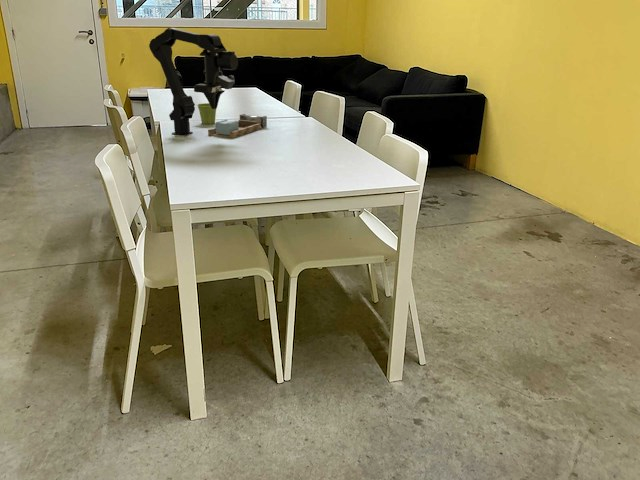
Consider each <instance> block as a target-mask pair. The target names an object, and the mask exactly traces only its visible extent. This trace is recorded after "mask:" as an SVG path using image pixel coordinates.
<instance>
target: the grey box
mask: <svg viewBox="0 0 640 480" xmlns="http://www.w3.org/2000/svg"><path fill="white" fill-rule="evenodd" d="M237 121H238V120H228V119H222V120H220V121H215V123H214V124H215V128H216V134H224V135H230V132H232V131H236V130H239V125H238V122H237Z"/></svg>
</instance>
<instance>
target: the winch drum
mask: <svg viewBox="0 0 640 480" xmlns="http://www.w3.org/2000/svg"><path fill="white" fill-rule="evenodd" d="M267 118H268V117H267V115H263V116H259V115H257V116H256V115H247V114H245V113H241V114H239V120H247V121H256V122H258V124H261V129H265V128H267V127H268V126H267V124H268V123H267V121H268V119H267Z"/></svg>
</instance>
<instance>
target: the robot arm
mask: <svg viewBox="0 0 640 480" xmlns="http://www.w3.org/2000/svg"><path fill="white" fill-rule="evenodd" d="M176 41H181V42H184V43H185V42H186V43H189V44H194V45H196V46H198V47H199V48H201V49H203V50H202V51H201V52H200V53H199V56H200V57H204V70H203V72H202V74H204V76H205V81H203V83H198V84H195V85H194V86H193V92H194V93H201V94H203V95H204V96H205V98H206V99H207V102H208V103H209V104H210V106H211V108H212V109H216V108H217V109H218V106H217V105H219V101H220V98H221V95H222V94H223V93H224V92H225V91H226V90H231V89H233V85H235V84H236V82H235V80H236V79H235V76H234V75H231V74H230V75H228V76H225V75H224V72H223V71H222V70H226V71H227V70H230V71H235V70H236V69H238V67H239V60H238V56H237V55H236V54H235V53H236V52H235V50H234V51H231V50H229V51H228V50H227V49H226V47H225V45H224V43H223V42H222V40H221V38H220V36H219V35H218V34H214V33H213V34H212V33H211V34H209V33H207V34H205V33H203V34H202V33H201V34H200V33H197V32H192V31H188V30H183V29H180V28H177V27H167V28H166V29H165V30H164V31H163V32H161V33H160V34H158V35H156V36H155V37H154V38H152V39H150V41H149V44H148V48H149V50H150V52H151V53H152V55H153V57H154V58H155V59H156V60H157V62H158V63H159V64H160V67H161V69H162V70H163V73H164V74H163V75H164V76H165V79H166V81H167V84H168V87H169V89H170V91H171V94H172V96H173V98H172V107H173V109H172V111H171V112H170V113H169V115H168V116H169V119H170V121H173V126H174V127H173V129H174V132H171V135H176V136H177V135H178V136H187V135H191V134H193V133H194V132H193V131H191V127H190V125H191V124H190V123H191V122H190V119H193V116H194V115H193V114H194V113H195V110H196V107H195V105H196V103H195V102H194V100H193V96H192V95H187V94H186V92H185V90H184V87H183V85H182V82H181V79H180V78H179V74H178V72H177V69H176V66H175V64H174V61H173V49H172V47H173V46H174V45H175V44H176ZM223 89H225V90H223ZM217 109H216V110H217Z"/></svg>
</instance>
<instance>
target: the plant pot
mask: <svg viewBox="0 0 640 480" xmlns="http://www.w3.org/2000/svg"><path fill="white" fill-rule="evenodd" d="M218 105H219V104H218ZM218 105H217V108H216V109H212V108H211V106H210V104H209V102H208V103H207V102H203V103H198V104H196V106H197V108H198V111H199V116H200V121H201V124H203V125H210V124H211V125H214V124H215V123H216V114H217V109H218Z"/></svg>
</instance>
